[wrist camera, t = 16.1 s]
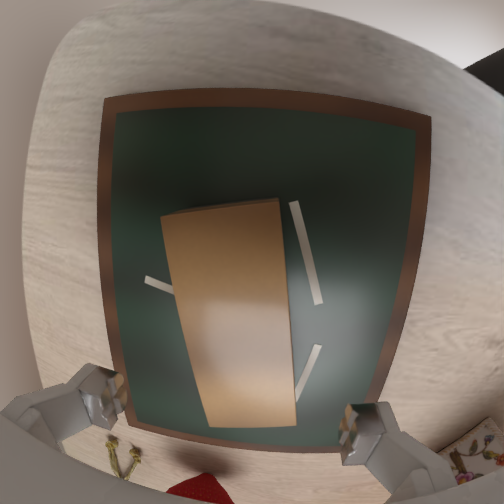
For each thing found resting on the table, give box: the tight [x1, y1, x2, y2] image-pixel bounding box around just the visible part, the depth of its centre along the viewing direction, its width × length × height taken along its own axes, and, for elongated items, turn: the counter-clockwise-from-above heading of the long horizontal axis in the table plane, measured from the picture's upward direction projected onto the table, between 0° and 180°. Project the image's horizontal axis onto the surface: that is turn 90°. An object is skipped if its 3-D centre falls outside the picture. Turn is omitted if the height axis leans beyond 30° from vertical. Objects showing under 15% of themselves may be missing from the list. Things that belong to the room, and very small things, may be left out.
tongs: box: [105, 440, 141, 481], centre depth 24 cm, size 4×13×2 cm, turn 165°
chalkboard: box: [97, 88, 432, 453], centre depth 18 cm, size 26×20×1 cm
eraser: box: [160, 197, 297, 428], centre depth 15 cm, size 12×5×4 cm, turn 7°
